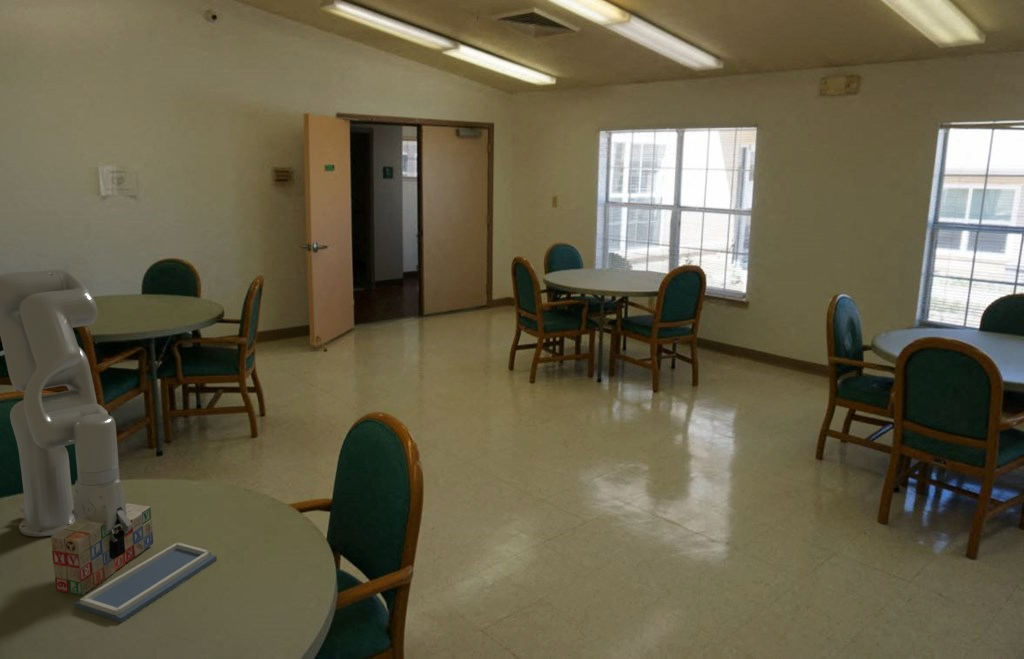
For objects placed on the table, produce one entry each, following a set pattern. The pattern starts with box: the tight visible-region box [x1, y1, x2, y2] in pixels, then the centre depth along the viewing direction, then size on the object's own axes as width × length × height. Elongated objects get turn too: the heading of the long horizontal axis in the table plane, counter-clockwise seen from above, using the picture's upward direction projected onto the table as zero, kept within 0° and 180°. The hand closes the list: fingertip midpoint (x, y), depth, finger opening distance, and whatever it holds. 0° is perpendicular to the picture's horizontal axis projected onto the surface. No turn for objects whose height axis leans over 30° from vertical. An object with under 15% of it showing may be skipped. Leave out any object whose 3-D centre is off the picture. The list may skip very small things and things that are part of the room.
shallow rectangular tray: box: [74, 541, 217, 623], centre depth 154 cm, size 12×25×2 cm, turn 159°
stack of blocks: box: [50, 502, 154, 596], centre depth 157 cm, size 21×6×12 cm, turn 168°
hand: (104, 551), depth 157 cm, fingers closed on stack of blocks, 6 cm apart
